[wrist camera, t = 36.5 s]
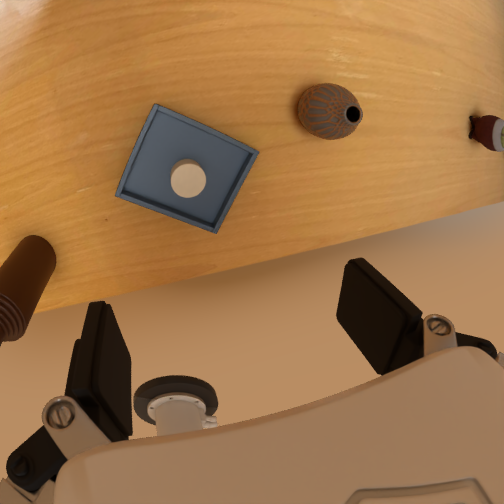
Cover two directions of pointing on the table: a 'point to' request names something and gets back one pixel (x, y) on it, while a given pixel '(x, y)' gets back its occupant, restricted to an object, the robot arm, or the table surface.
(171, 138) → the tray
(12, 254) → the bottle
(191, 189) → the cap
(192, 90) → the table surface
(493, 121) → the mate gourd
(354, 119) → the vase
